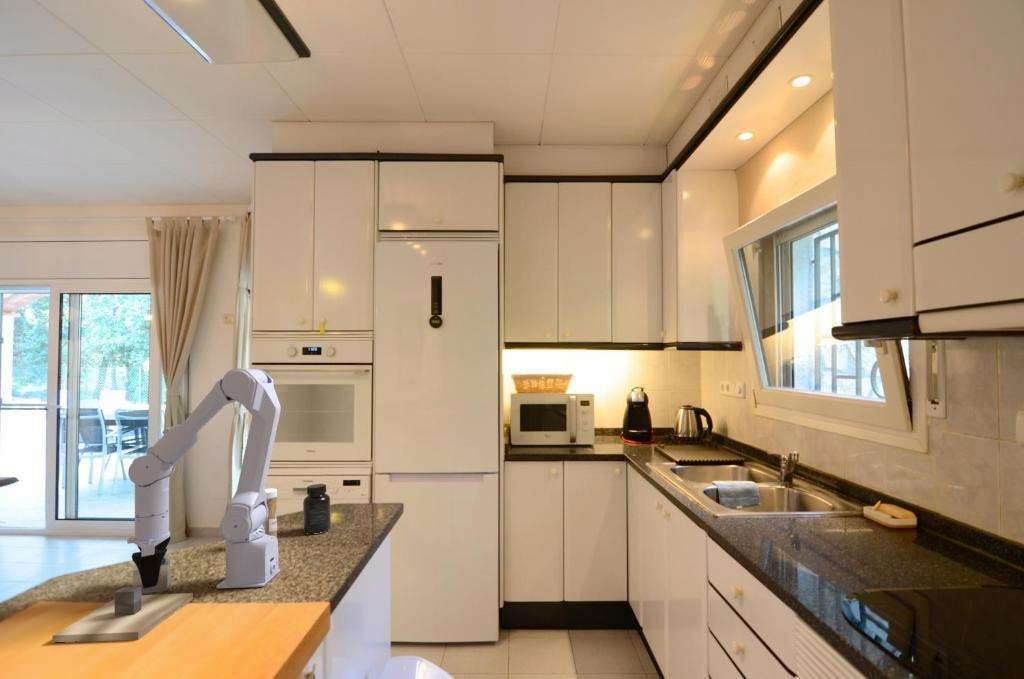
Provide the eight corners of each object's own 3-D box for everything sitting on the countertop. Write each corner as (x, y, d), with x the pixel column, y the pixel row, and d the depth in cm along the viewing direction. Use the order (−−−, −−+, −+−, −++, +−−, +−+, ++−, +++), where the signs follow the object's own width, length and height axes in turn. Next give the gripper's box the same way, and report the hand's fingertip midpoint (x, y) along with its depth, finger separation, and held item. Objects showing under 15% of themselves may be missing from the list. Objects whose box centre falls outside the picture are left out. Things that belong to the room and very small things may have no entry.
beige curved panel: (192, 599, 96) (192, 571, 96) (138, 639, 82) (138, 606, 82) (119, 602, 96) (119, 574, 96) (52, 643, 82) (52, 610, 82)
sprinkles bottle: (279, 544, 125) (278, 490, 126) (258, 548, 123) (258, 493, 123) (276, 539, 129) (275, 486, 130) (256, 543, 126) (256, 489, 127)
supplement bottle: (305, 528, 137) (305, 484, 138) (332, 525, 139) (331, 481, 140) (301, 536, 131) (300, 489, 131) (329, 533, 132) (328, 487, 133)
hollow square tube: (169, 579, 105) (169, 555, 106) (167, 589, 101) (167, 564, 101) (136, 586, 103) (137, 561, 103) (132, 597, 98) (132, 571, 98)
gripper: (133, 508, 107) (132, 573, 106) (121, 526, 94) (121, 600, 93) (172, 503, 110) (172, 565, 109) (167, 519, 98) (167, 590, 97)
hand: (152, 581), depth 102 cm, fingers closed on hollow square tube, 6 cm apart
